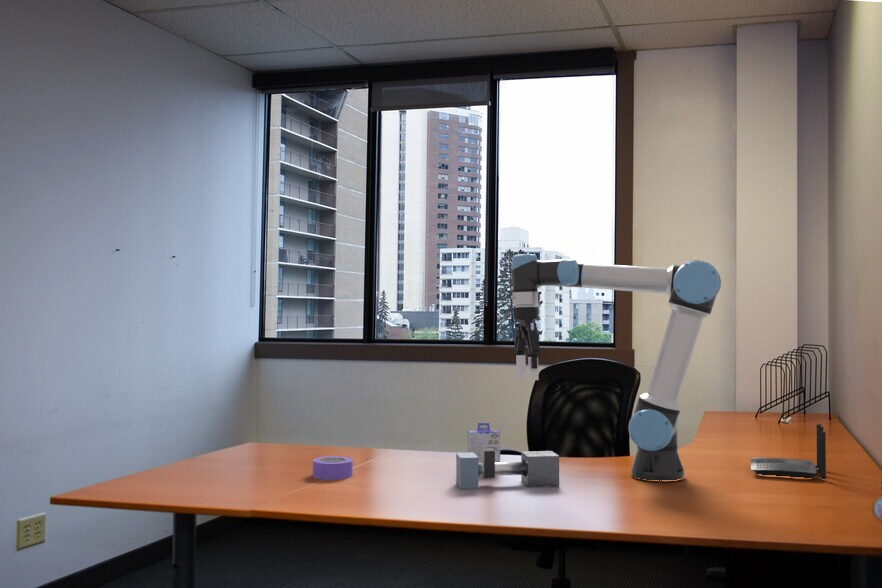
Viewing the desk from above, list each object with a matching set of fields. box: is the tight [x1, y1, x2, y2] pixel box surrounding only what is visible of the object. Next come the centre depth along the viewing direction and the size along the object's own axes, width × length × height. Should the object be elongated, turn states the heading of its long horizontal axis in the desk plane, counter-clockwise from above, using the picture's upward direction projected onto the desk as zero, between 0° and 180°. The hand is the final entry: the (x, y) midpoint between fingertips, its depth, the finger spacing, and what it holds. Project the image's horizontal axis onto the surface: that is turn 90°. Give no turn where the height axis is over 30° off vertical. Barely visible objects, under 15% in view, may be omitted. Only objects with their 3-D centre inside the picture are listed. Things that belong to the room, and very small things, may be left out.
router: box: [750, 423, 827, 480], centre depth 249 cm, size 21×20×15 cm
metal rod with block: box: [478, 448, 526, 479], centre depth 232 cm, size 18×5×8 cm, turn 97°
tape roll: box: [312, 455, 354, 481], centre depth 245 cm, size 12×12×5 cm
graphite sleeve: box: [520, 450, 560, 488], centre depth 234 cm, size 9×8×8 cm
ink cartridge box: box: [467, 422, 501, 463], centre depth 252 cm, size 10×6×14 cm, turn 90°
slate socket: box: [455, 452, 479, 490], centre depth 231 cm, size 5×8×9 cm, turn 7°
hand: (527, 378), depth 243 cm, fingers open, 13 cm apart
